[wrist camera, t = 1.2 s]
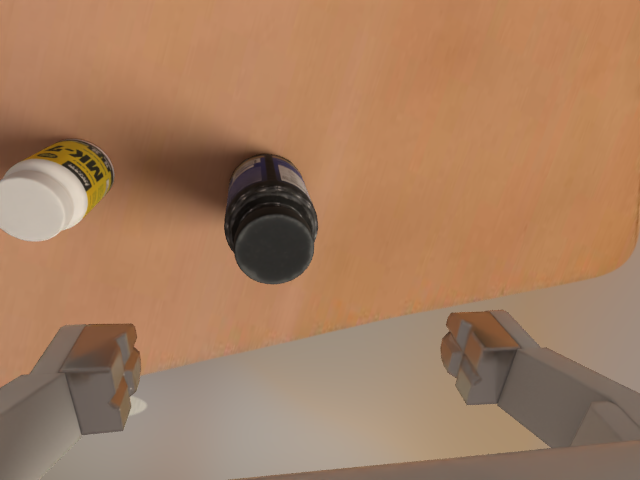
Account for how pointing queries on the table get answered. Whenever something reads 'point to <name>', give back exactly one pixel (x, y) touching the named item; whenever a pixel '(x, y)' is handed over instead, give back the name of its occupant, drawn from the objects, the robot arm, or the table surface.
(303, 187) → the pill bottle
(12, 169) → the supplement bottle
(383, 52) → the table surface
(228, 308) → the table surface
